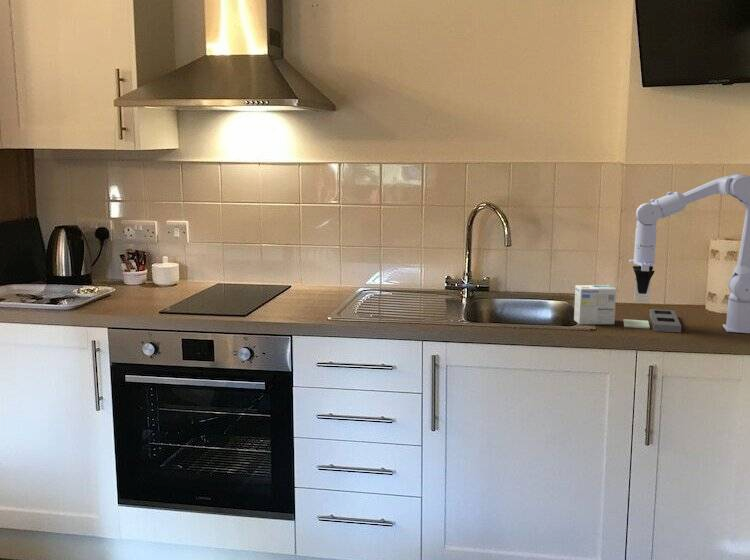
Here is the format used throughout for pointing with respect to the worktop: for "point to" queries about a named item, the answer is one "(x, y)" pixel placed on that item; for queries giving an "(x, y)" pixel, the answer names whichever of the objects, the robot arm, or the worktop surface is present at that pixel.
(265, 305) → the worktop surface
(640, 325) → the mat
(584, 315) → the light bulb box
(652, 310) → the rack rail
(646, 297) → the white block
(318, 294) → the worktop surface
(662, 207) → the robot arm
